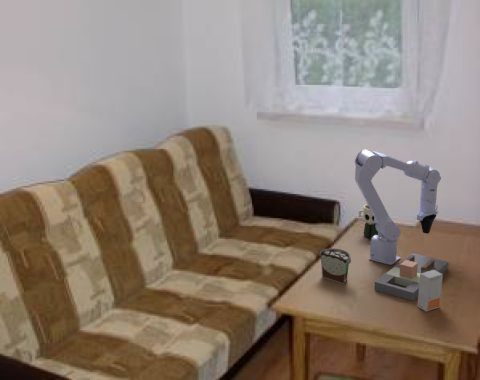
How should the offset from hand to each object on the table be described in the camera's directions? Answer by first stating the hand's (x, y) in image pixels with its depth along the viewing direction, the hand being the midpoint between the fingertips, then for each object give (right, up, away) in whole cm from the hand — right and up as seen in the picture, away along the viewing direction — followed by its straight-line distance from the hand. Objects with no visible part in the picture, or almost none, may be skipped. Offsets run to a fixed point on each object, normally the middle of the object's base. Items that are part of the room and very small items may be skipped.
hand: (426, 232), depth 240 cm
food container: (-36, -15, -13) cm, 41 cm away
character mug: (-16, -3, +23) cm, 28 cm away
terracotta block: (-12, -14, -20) cm, 27 cm away
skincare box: (-10, -22, -36) cm, 43 cm away
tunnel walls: (-7, -12, -14) cm, 20 cm away
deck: (-10, -15, -16) cm, 24 cm away
